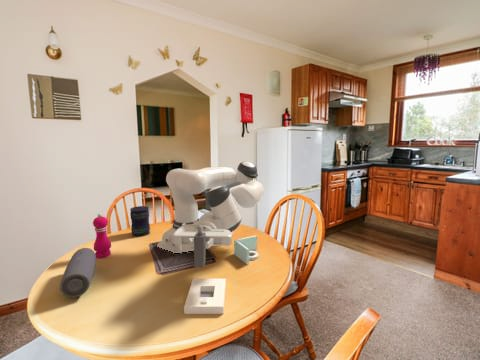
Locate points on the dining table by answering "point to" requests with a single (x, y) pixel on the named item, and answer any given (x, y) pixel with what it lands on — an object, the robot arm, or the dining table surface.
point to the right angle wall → (246, 248)
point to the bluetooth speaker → (78, 273)
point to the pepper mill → (101, 237)
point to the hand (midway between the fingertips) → (199, 246)
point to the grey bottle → (199, 248)
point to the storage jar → (140, 221)
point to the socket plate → (206, 297)
